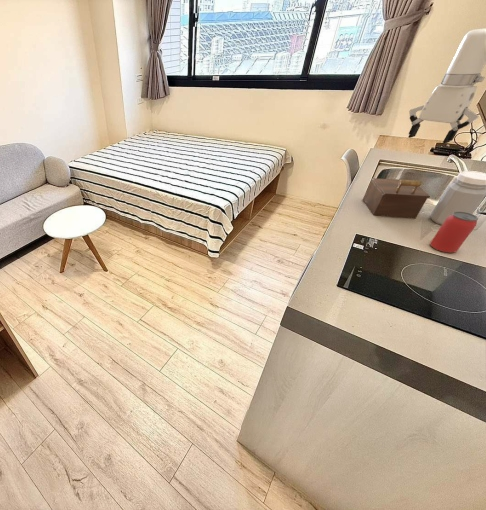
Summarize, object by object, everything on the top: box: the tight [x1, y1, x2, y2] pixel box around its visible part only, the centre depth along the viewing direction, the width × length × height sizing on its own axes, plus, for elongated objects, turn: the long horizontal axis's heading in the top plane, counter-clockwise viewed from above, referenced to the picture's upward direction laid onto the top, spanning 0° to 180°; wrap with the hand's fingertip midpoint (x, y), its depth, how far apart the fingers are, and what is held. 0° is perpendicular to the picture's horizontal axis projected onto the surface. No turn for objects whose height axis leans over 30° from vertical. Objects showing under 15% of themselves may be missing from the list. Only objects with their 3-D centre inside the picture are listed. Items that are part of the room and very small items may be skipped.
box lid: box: [370, 177, 431, 199], centre depth 106 cm, size 16×14×5 cm
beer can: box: [430, 212, 479, 254], centre depth 87 cm, size 7×7×12 cm
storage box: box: [362, 180, 428, 219], centre depth 111 cm, size 15×14×9 cm
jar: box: [430, 170, 486, 226], centre depth 98 cm, size 10×10×18 cm
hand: (428, 139), depth 94 cm, fingers open, 9 cm apart
